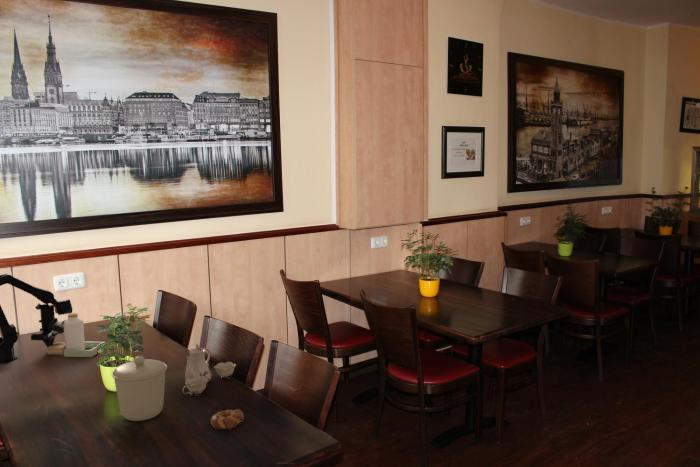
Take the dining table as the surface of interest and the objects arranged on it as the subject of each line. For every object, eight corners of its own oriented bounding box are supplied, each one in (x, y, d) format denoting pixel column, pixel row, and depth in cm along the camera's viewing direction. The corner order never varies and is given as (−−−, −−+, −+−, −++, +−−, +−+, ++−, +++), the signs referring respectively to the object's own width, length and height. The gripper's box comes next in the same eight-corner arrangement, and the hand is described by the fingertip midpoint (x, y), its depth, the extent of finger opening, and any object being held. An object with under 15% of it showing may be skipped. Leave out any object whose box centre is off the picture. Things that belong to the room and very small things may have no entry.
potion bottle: (66, 350, 269) (63, 313, 267) (85, 347, 272) (82, 311, 270) (65, 355, 261) (62, 317, 259) (85, 353, 265) (82, 315, 262)
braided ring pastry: (231, 413, 199) (231, 403, 199) (252, 421, 192) (252, 411, 192) (203, 425, 190) (202, 414, 190) (223, 434, 183) (223, 423, 183)
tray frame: (91, 357, 259) (90, 350, 259) (64, 356, 260) (63, 350, 260) (106, 347, 272) (105, 341, 272) (80, 347, 273) (79, 341, 273)
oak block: (62, 354, 263) (61, 347, 263) (48, 354, 264) (47, 347, 264) (72, 349, 271) (71, 342, 271) (58, 349, 272) (57, 341, 271)
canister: (115, 408, 204) (111, 352, 201) (168, 400, 210) (165, 345, 207) (113, 430, 187) (109, 369, 184) (171, 421, 193) (167, 361, 190)
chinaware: (201, 405, 210) (203, 362, 207) (163, 395, 215) (165, 353, 212) (240, 377, 236) (242, 339, 233) (206, 369, 241) (207, 332, 238)
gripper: (52, 322, 256) (54, 356, 258) (75, 311, 274) (77, 343, 276) (28, 322, 257) (31, 355, 259) (53, 311, 275) (55, 342, 277)
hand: (50, 349), depth 268 cm, fingers closed, pressing on oak block
